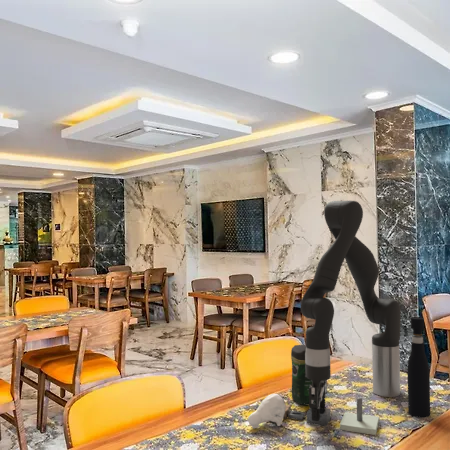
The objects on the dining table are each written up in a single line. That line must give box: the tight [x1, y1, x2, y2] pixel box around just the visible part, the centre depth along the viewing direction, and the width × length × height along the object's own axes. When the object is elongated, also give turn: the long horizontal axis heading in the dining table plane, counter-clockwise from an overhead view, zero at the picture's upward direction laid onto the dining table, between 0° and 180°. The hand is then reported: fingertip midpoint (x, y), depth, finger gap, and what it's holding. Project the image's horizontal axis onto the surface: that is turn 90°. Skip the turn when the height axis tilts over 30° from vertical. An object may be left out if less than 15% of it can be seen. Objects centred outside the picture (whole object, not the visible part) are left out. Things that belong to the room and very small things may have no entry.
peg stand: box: [339, 397, 380, 436], centre depth 138 cm, size 10×10×8 cm
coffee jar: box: [290, 344, 316, 406], centre depth 159 cm, size 10×8×19 cm
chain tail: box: [283, 404, 306, 421], centre depth 145 cm, size 5×8×2 cm, turn 66°
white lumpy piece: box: [247, 393, 286, 430], centre depth 139 cm, size 6×8×12 cm
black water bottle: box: [406, 316, 431, 419], centre depth 146 cm, size 6×6×30 cm
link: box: [306, 407, 332, 427], centre depth 142 cm, size 6×6×3 cm
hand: (318, 415), depth 142 cm, fingers open, 8 cm apart
